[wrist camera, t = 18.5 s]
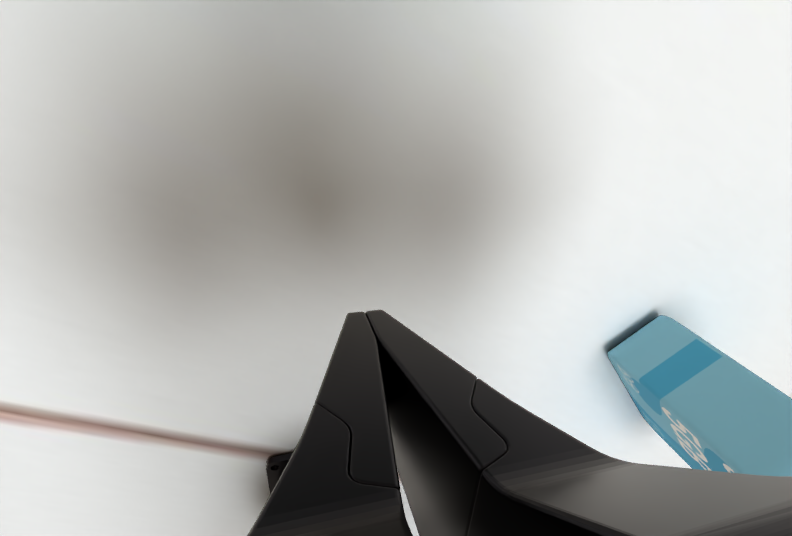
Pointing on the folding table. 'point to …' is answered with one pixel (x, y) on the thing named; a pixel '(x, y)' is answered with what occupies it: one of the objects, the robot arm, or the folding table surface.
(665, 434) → the blue printed box
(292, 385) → the folding table surface
